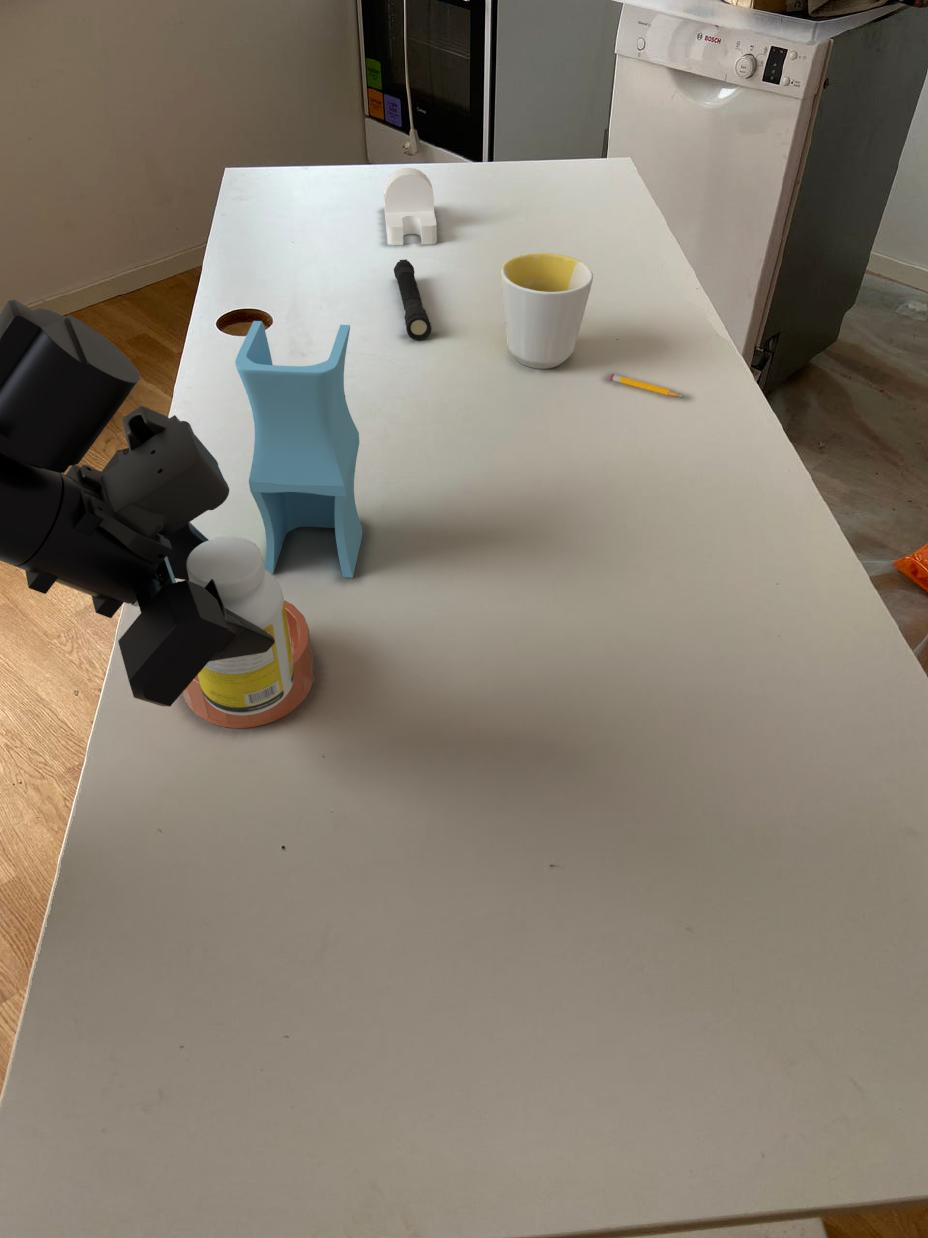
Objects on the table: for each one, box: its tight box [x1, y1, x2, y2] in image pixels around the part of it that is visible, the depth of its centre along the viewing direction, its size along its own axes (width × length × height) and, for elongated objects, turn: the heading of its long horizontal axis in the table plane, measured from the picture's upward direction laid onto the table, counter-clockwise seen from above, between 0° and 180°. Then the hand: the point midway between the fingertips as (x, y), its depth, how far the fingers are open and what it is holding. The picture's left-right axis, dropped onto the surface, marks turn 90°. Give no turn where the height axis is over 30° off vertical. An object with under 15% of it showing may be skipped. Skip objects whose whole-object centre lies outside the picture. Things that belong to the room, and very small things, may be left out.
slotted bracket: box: [383, 167, 438, 247], centre depth 139 cm, size 13×7×8 cm, turn 6°
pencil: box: [609, 373, 684, 398], centre depth 109 cm, size 1×8×1 cm, turn 63°
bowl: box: [182, 599, 315, 729], centre depth 75 cm, size 10×10×4 cm
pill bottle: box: [187, 535, 294, 715], centre depth 64 cm, size 6×6×12 cm
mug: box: [500, 252, 594, 370], centre depth 112 cm, size 14×10×10 cm
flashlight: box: [393, 258, 433, 342], centre depth 122 cm, size 3×16×3 cm, turn 9°
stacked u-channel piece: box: [234, 320, 363, 579], centre depth 81 cm, size 8×8×20 cm
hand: (256, 612), depth 64 cm, fingers closed on pill bottle, 6 cm apart
